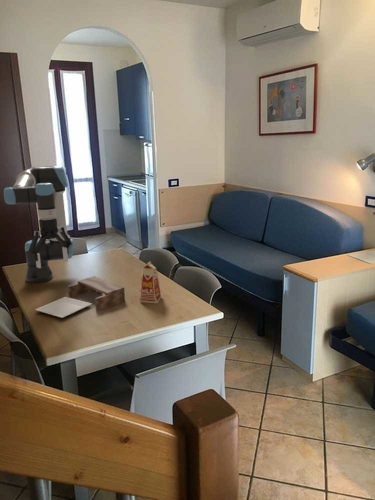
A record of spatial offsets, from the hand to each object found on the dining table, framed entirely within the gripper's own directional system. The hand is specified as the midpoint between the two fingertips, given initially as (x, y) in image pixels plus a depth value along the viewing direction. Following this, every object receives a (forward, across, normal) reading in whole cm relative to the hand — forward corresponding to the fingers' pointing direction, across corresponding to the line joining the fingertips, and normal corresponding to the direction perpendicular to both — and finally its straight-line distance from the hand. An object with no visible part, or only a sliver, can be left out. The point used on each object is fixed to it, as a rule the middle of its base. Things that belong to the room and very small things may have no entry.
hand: (52, 264), depth 188 cm
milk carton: (+23, +38, -23) cm, 50 cm away
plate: (+24, +3, 0) cm, 24 cm away
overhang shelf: (+23, +21, -1) cm, 31 cm away
